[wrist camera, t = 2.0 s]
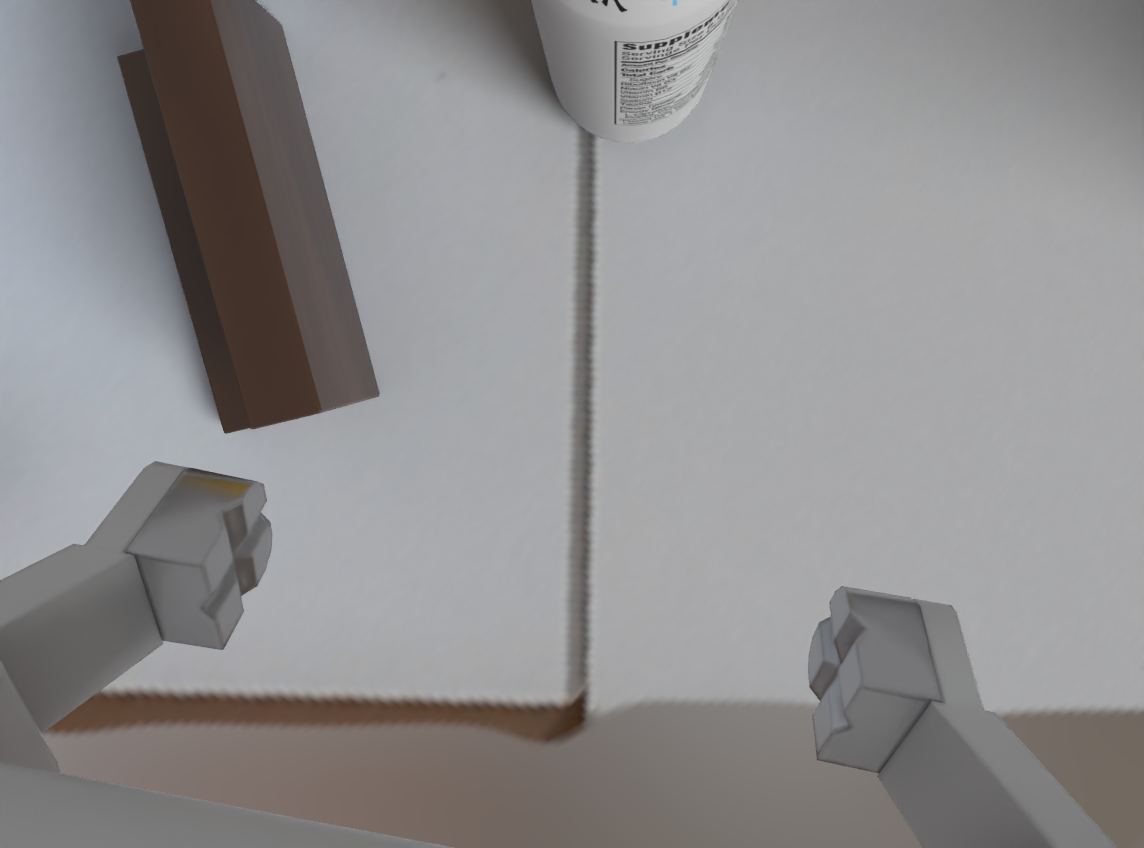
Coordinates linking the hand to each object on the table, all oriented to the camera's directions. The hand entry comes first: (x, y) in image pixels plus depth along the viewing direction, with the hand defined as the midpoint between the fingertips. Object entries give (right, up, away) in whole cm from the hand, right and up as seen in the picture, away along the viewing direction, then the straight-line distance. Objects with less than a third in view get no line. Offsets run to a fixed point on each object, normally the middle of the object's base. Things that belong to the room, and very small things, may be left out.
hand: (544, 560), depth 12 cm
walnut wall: (-12, +10, +22) cm, 27 cm away
